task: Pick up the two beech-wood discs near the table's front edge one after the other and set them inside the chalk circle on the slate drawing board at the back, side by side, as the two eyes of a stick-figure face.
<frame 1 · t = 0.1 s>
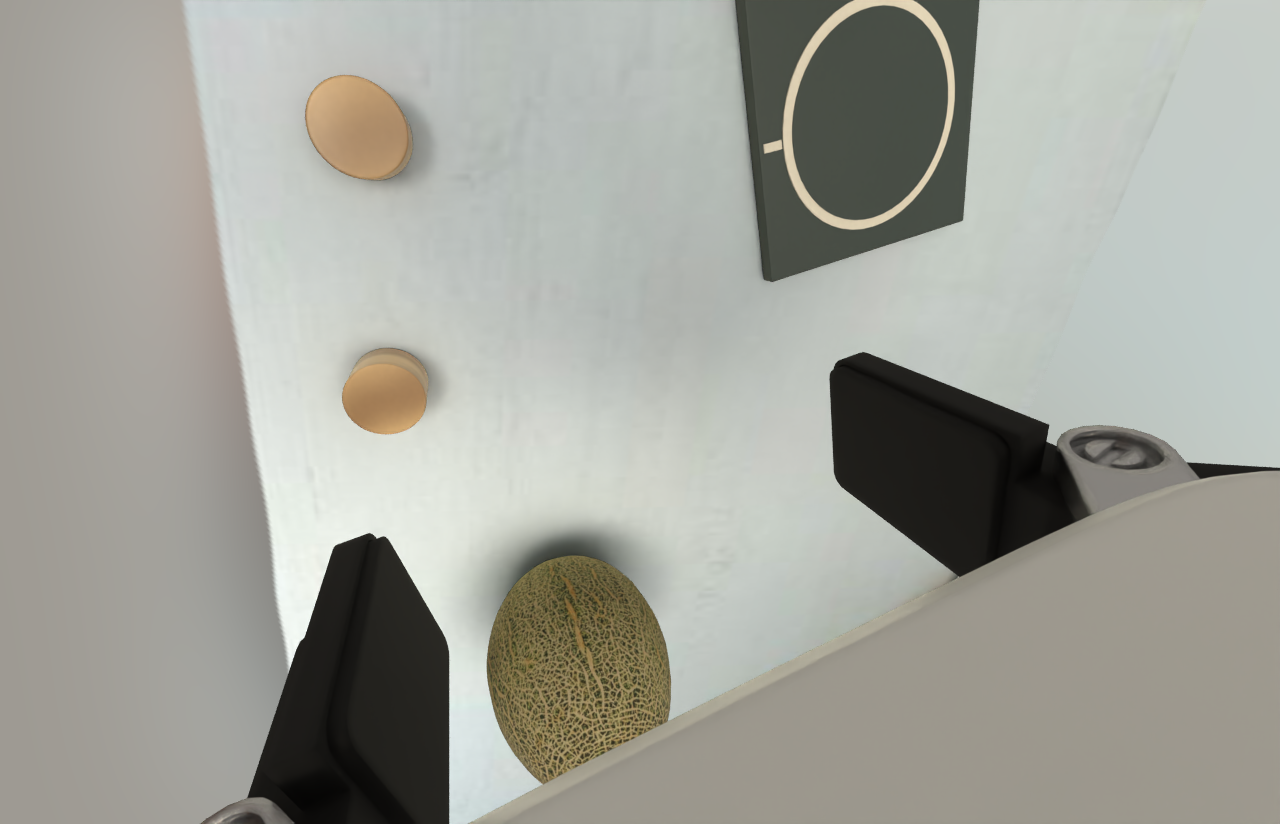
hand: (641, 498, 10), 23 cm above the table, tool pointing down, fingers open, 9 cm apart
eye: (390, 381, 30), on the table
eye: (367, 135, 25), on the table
slate board: (860, 122, 33), on the table
fruit: (558, 582, 39), on the table
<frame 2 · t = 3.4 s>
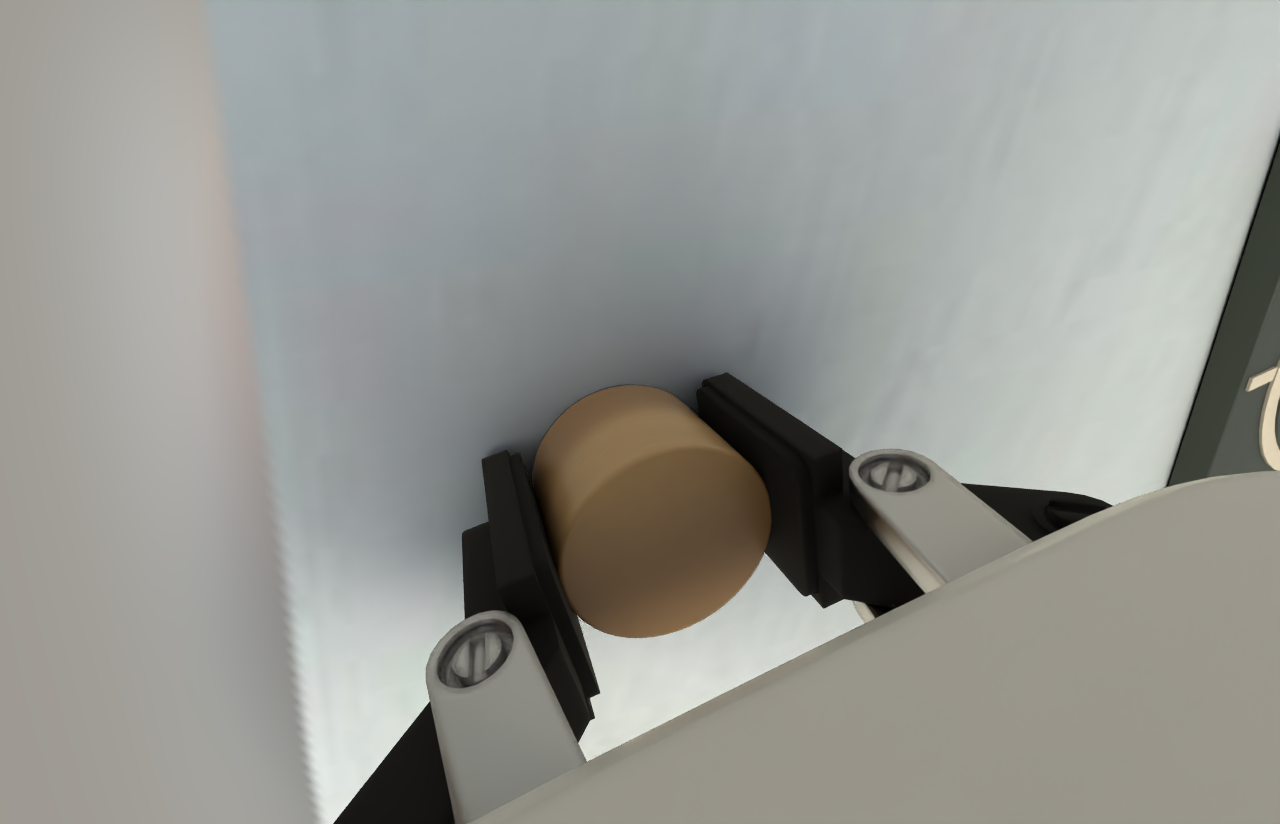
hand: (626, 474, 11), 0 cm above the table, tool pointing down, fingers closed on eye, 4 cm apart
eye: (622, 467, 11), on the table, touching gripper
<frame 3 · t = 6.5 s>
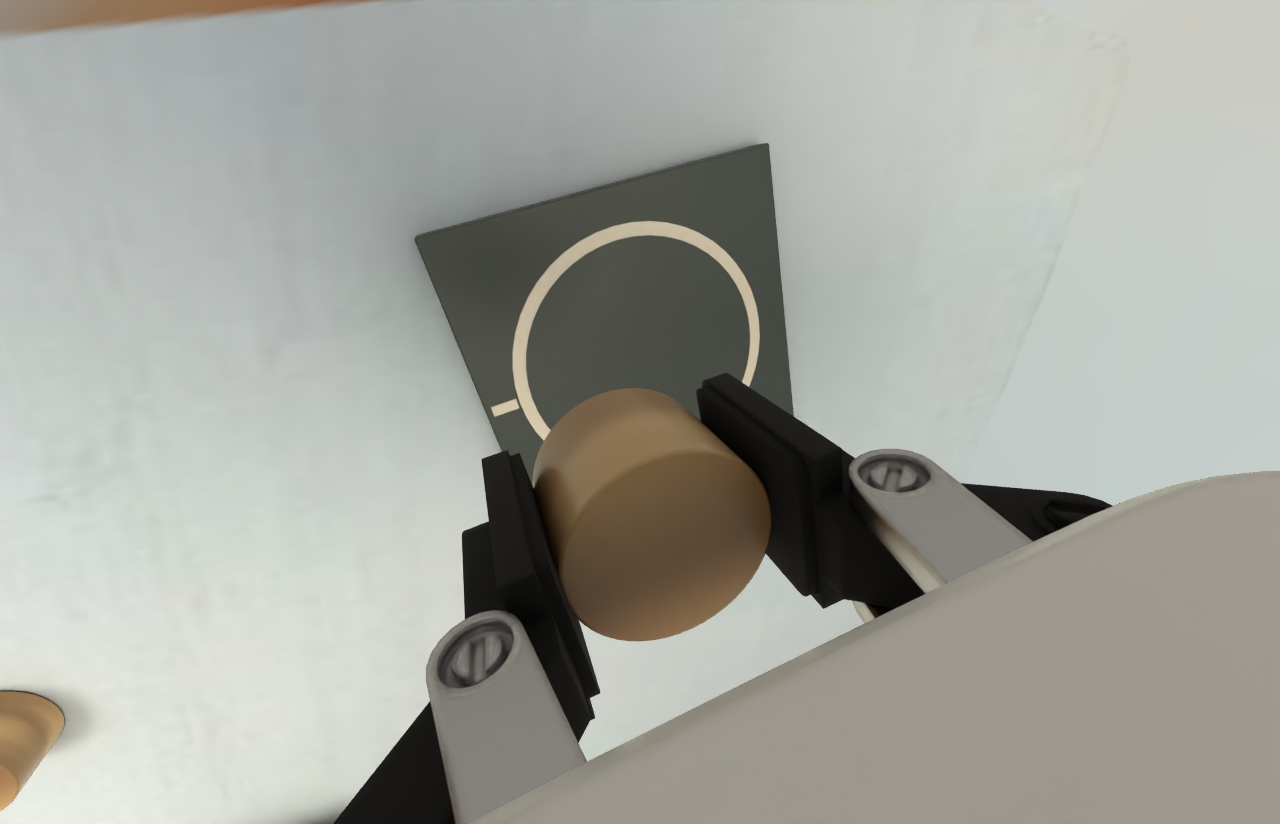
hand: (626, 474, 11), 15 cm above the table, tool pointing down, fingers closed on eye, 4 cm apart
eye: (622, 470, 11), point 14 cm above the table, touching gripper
slate board: (638, 353, 26), on the table
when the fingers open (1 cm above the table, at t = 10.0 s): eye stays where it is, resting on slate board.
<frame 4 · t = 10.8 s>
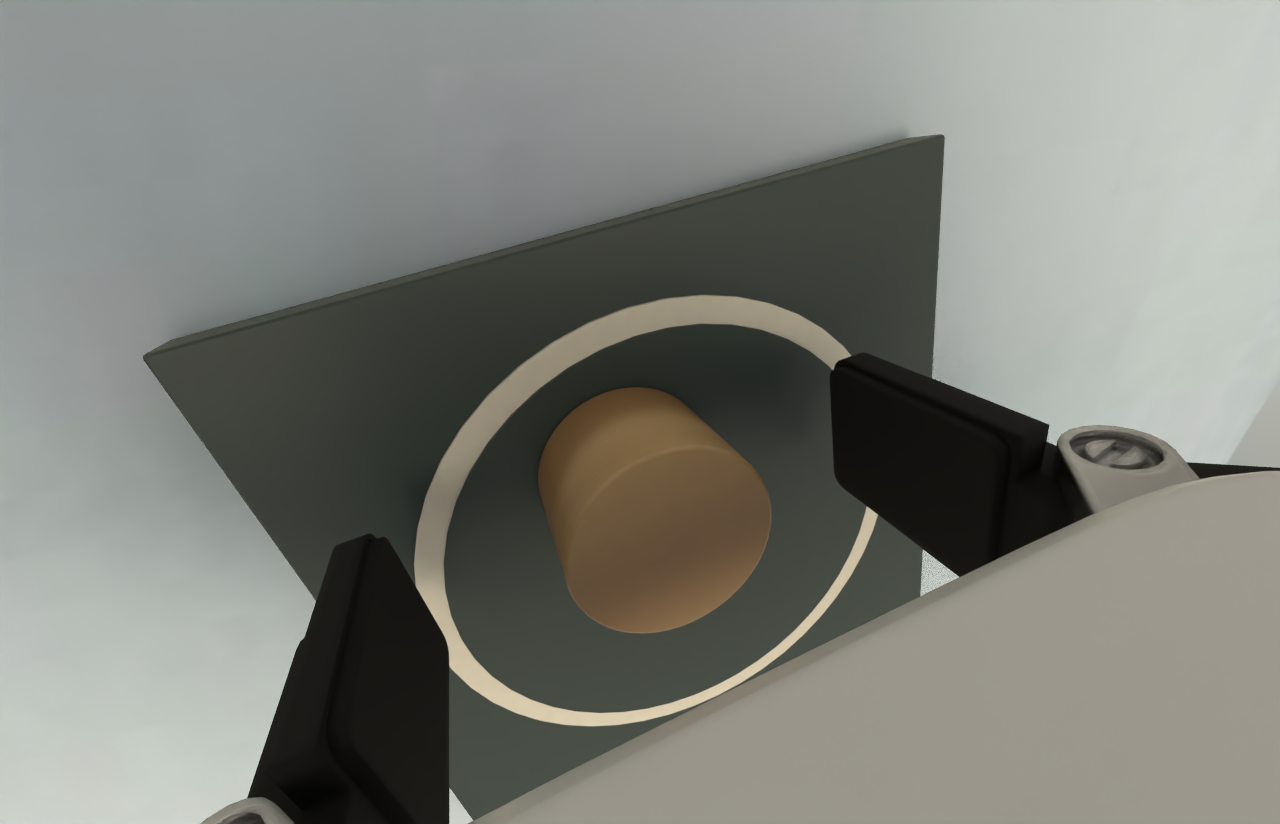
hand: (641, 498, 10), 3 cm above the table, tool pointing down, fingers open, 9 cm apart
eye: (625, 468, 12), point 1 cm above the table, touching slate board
slate board: (667, 520, 14), on the table
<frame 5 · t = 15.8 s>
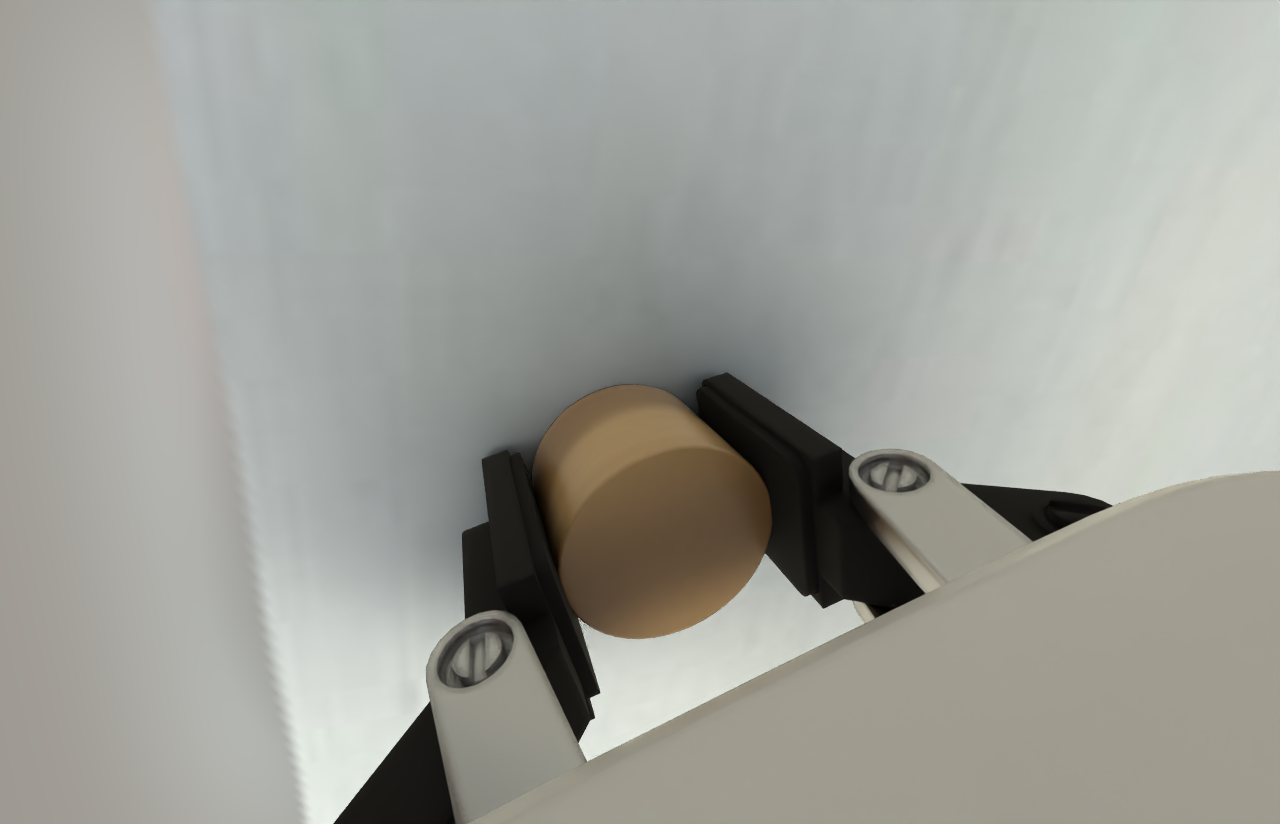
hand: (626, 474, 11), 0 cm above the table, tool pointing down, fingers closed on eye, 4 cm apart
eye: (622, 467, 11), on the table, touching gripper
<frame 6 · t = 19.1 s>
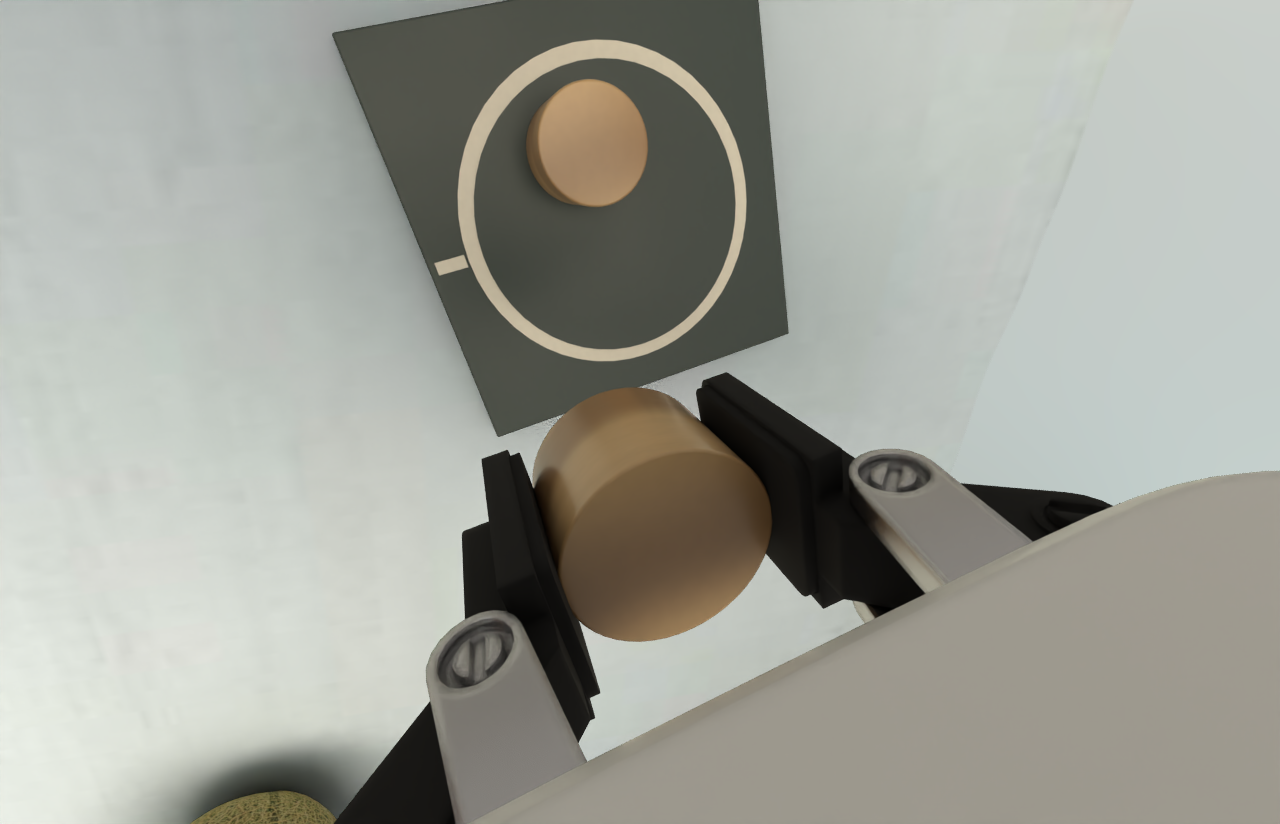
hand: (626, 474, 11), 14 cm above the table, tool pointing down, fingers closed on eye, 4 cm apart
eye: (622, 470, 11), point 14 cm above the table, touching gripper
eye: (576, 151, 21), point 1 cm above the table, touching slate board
slate board: (608, 217, 23), on the table
fruit: (266, 809, 30), on the table
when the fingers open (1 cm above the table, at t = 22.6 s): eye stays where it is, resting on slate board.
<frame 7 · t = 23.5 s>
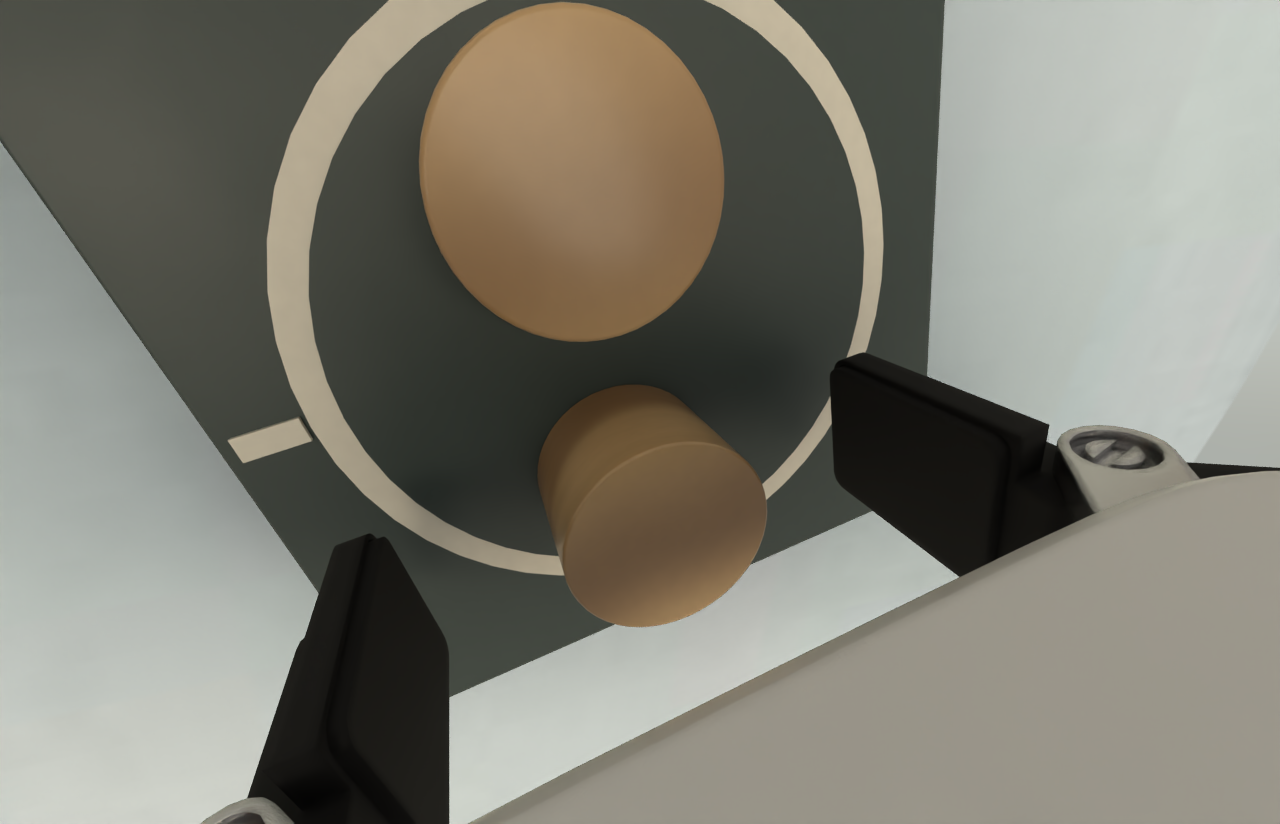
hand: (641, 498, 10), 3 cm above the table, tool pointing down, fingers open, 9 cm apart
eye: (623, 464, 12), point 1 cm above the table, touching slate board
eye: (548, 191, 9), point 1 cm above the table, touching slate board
slate board: (616, 314, 12), on the table
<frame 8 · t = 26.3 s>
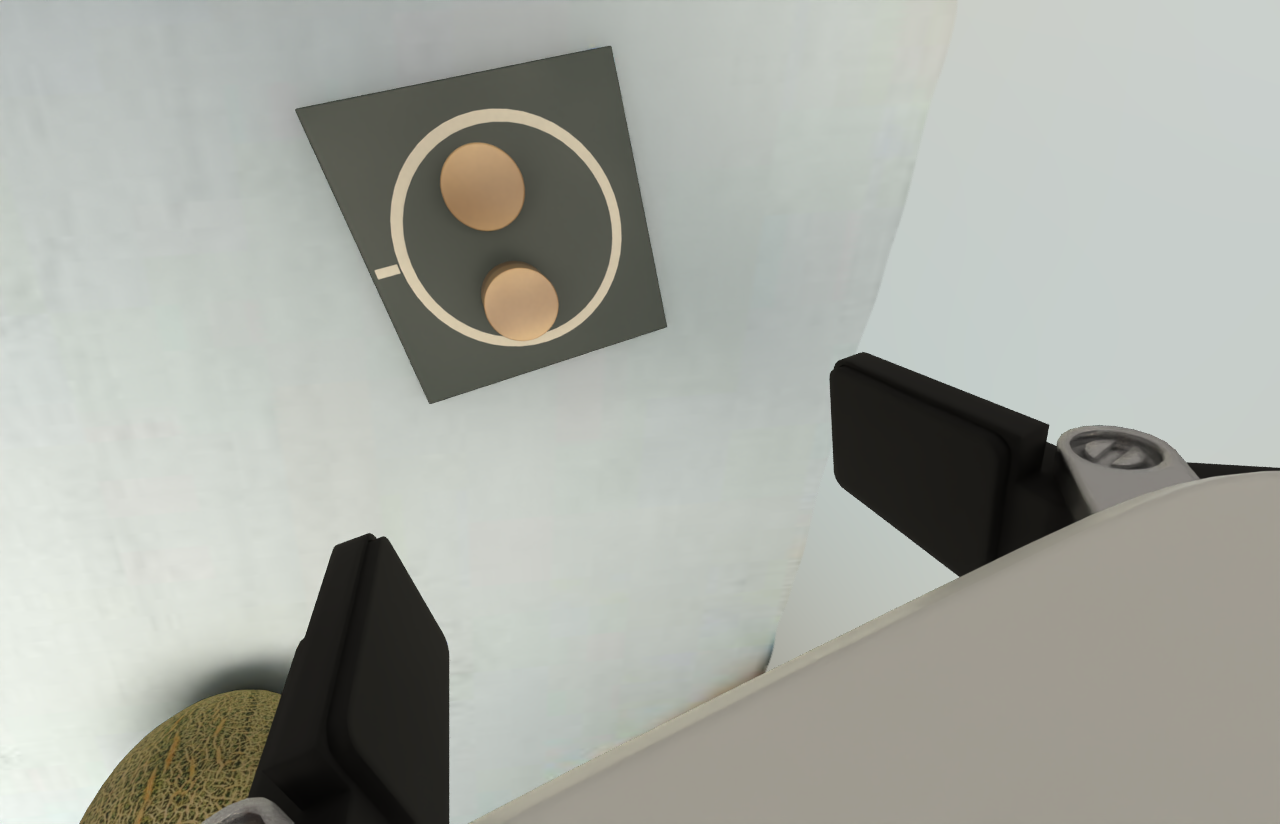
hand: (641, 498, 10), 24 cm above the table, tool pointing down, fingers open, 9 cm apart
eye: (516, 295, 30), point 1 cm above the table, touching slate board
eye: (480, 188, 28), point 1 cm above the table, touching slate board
slate board: (512, 236, 30), on the table
fruit: (249, 709, 37), on the table
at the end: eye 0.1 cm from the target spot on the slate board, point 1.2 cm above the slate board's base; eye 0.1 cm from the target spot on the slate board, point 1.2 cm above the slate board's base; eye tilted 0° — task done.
